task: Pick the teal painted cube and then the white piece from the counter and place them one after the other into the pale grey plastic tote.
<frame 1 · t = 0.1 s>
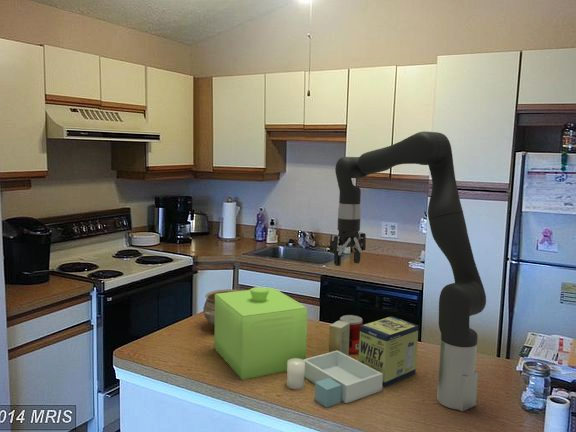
hand: (347, 264, 166), 29 cm above the counter, tool pointing down, fingers open, 8 cm apart
protein box: (387, 374, 150), on the counter
white piece: (295, 385, 141), on the counter
canned food: (349, 350, 168), on the counter
skincare box: (338, 360, 159), on the counter
cooking pot: (228, 327, 187), on the counter
cube: (327, 401, 132), on the counter
canister: (258, 358, 159), on the counter
tote: (340, 382, 143), on the counter
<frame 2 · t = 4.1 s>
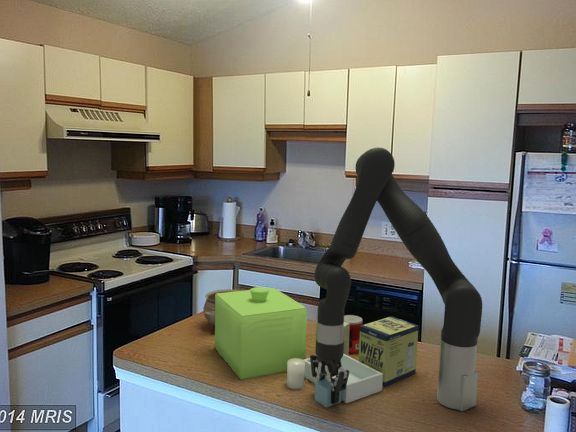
hand: (327, 398, 132), 1 cm above the counter, tool pointing down, fingers closed on cube, 5 cm apart
cube: (327, 400, 132), on the counter, touching gripper
everything else where it was.
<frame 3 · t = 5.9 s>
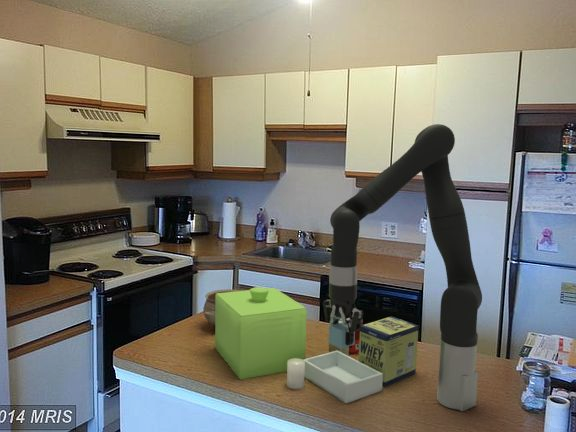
hand: (341, 341, 135), 15 cm above the counter, tool pointing down, fingers closed on cube, 5 cm apart
cube: (341, 343, 135), point 14 cm above the counter, touching gripper
everything else where it was.
when the fingers open (4 cm above the counter, at t = 7.9 s): cube drops 2 cm, resting on tote.
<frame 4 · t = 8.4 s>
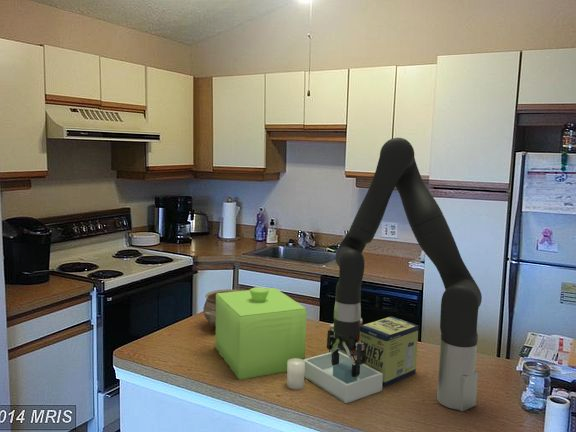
hand: (344, 370, 141), 4 cm above the counter, tool pointing down, fingers open, 8 cm apart
cube: (344, 383, 142), point 1 cm above the counter, touching tote
everything else where it was.
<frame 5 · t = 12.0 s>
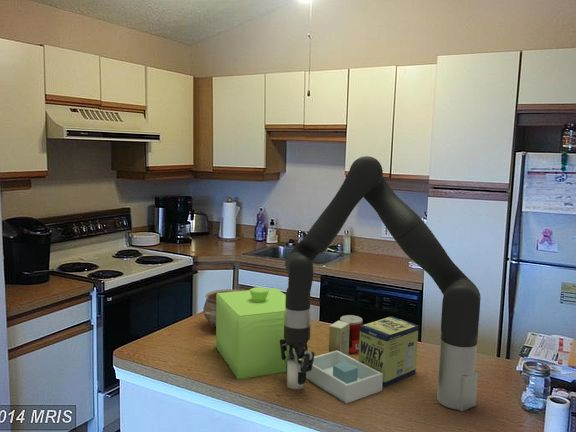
hand: (295, 379, 141), 2 cm above the counter, tool pointing down, fingers closed on white piece, 5 cm apart
white piece: (295, 385, 141), on the counter, touching gripper
everything else where it was.
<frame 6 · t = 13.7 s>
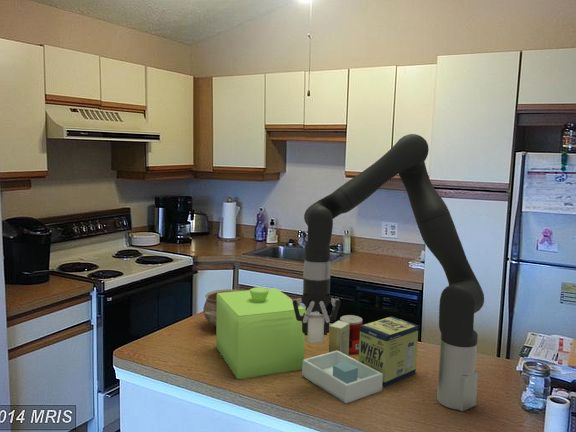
hand: (315, 334, 140), 15 cm above the counter, tool pointing down, fingers closed on white piece, 5 cm apart
white piece: (315, 339, 140), point 13 cm above the counter, touching gripper
everything else where it was.
when the fingers open (5 cm above the counter, at t = 15.6 s): white piece drops 3 cm, resting on tote.
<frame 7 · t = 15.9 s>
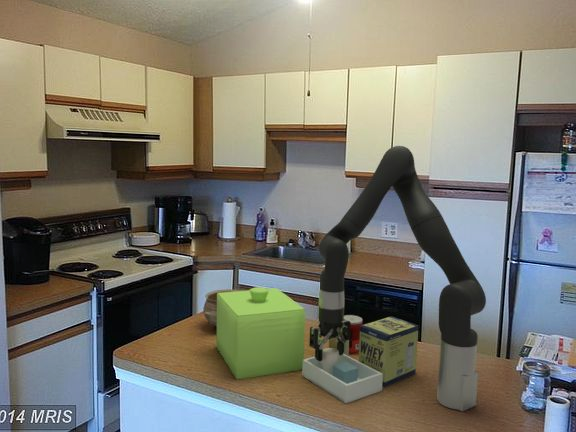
hand: (329, 357, 147), 6 cm above the counter, tool pointing down, fingers open, 7 cm apart
white piece: (329, 373, 147), point 1 cm above the counter, touching tote
everything else where it was.
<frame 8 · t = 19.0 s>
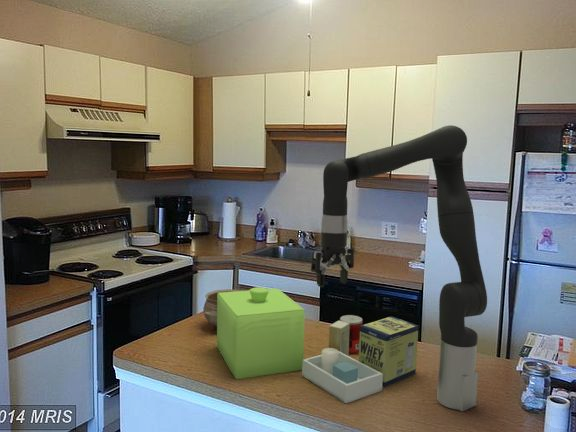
hand: (332, 284, 144), 28 cm above the counter, tool pointing down, fingers open, 8 cm apart
at the end: cube inside the target area on the tote (1.6 cm from its centre), point 0.6 cm above the tote's base; white piece inside the target area on the tote (5.5 cm from its centre), point 0.7 cm above the tote's base; the gripper is holding nothing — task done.
